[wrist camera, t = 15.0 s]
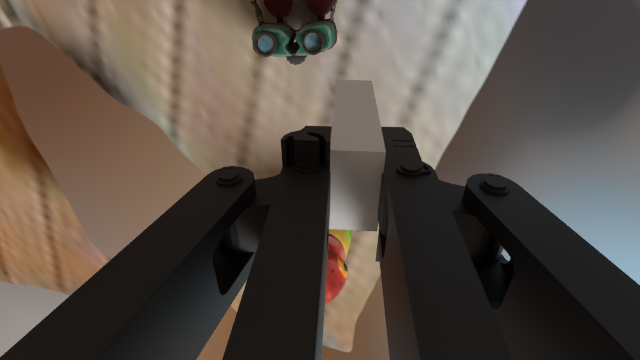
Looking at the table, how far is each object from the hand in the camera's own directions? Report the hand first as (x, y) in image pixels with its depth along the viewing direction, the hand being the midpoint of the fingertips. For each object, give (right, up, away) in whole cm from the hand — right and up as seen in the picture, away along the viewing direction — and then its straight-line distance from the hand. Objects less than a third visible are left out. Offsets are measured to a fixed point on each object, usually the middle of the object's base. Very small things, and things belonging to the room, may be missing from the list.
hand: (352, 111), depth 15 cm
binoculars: (-4, +17, +24) cm, 29 cm away
